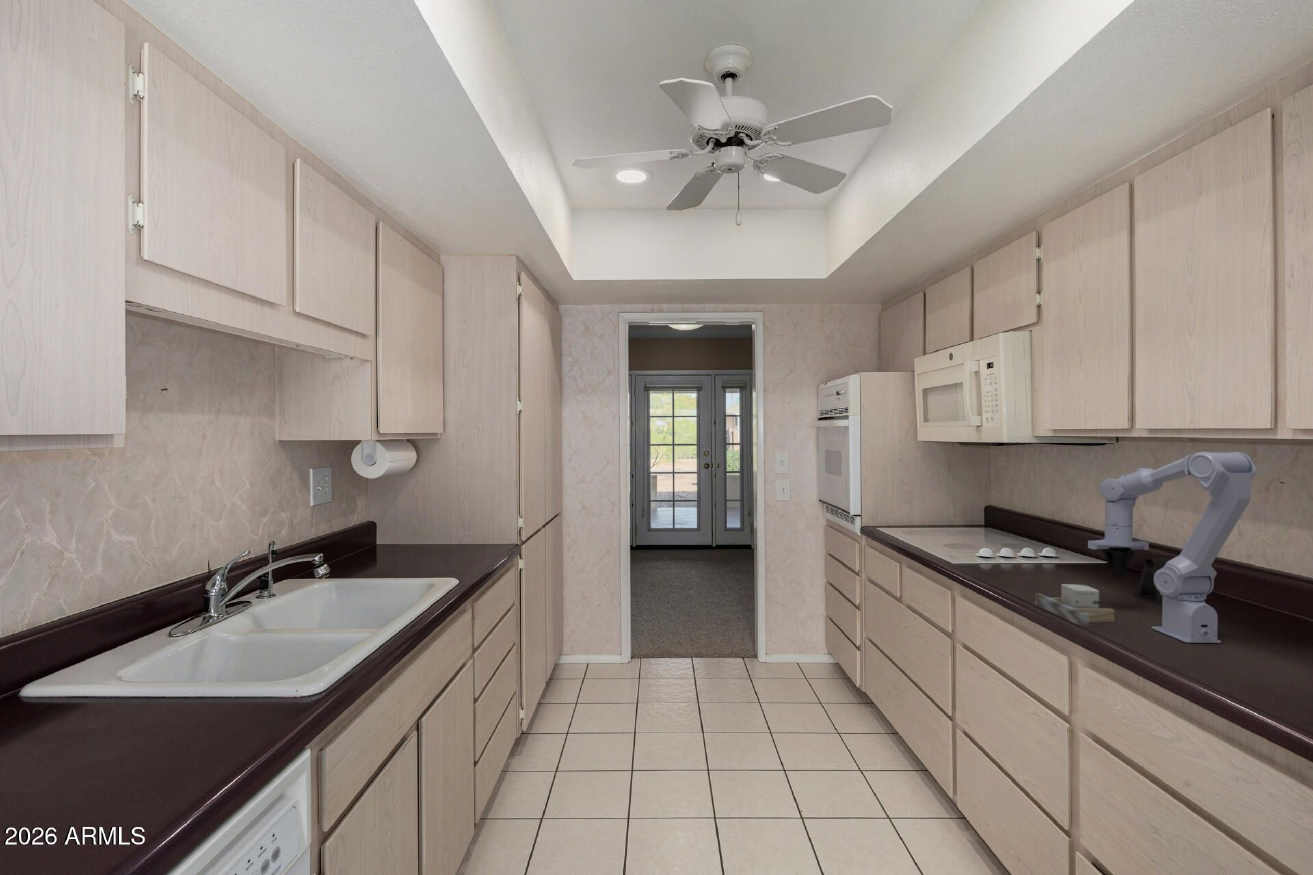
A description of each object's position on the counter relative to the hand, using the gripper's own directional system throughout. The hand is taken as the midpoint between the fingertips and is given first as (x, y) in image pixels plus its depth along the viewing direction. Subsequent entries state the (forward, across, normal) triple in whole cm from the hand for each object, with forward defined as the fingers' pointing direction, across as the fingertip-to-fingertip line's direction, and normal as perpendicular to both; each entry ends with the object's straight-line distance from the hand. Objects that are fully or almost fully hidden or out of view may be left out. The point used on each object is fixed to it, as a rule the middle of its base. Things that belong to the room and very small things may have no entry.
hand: (1117, 576), depth 152 cm
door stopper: (+10, -21, -11) cm, 25 cm away
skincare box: (+10, +12, +2) cm, 15 cm away
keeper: (+10, +12, +2) cm, 15 cm away
